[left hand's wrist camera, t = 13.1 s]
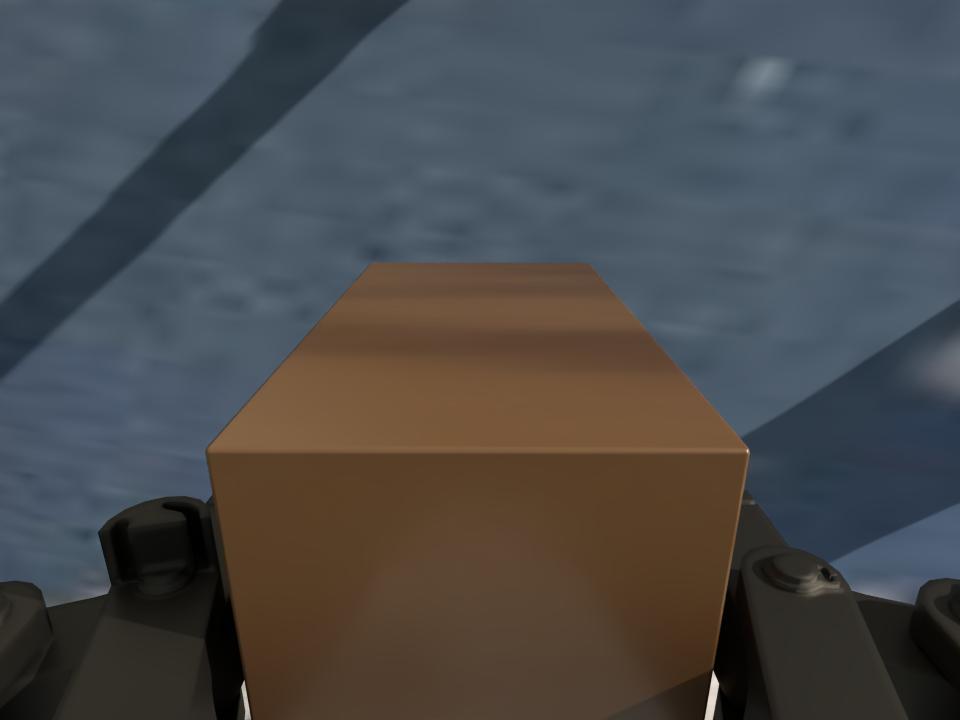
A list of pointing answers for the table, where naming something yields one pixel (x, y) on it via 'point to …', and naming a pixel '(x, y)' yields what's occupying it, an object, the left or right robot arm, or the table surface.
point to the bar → (477, 507)
